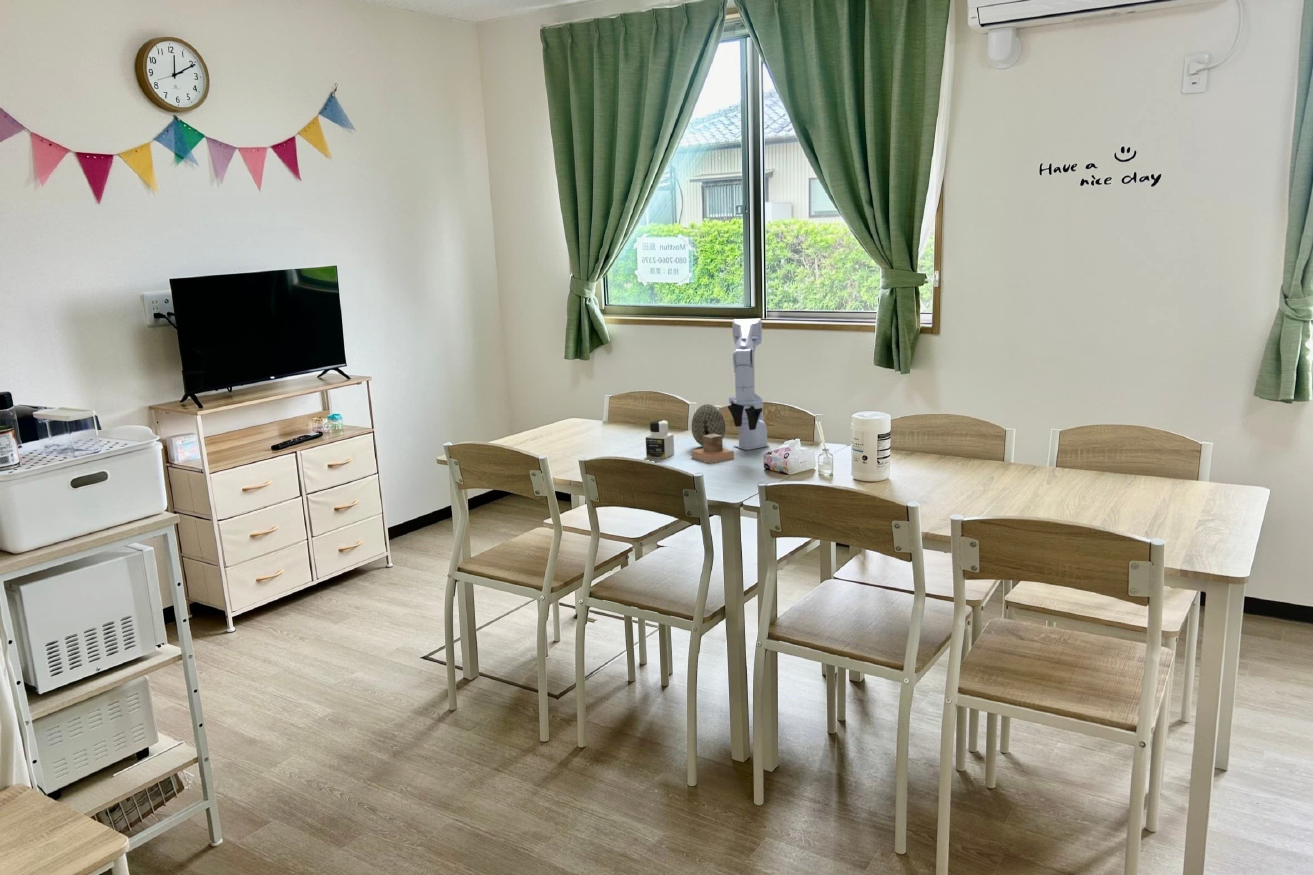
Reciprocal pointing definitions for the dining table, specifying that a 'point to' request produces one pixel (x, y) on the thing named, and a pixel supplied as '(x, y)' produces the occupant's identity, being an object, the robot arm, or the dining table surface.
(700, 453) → the terracotta slab
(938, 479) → the dining table surface
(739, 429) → the robot arm
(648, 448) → the medicine bottle
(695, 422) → the decorative egg
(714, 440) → the walnut block
